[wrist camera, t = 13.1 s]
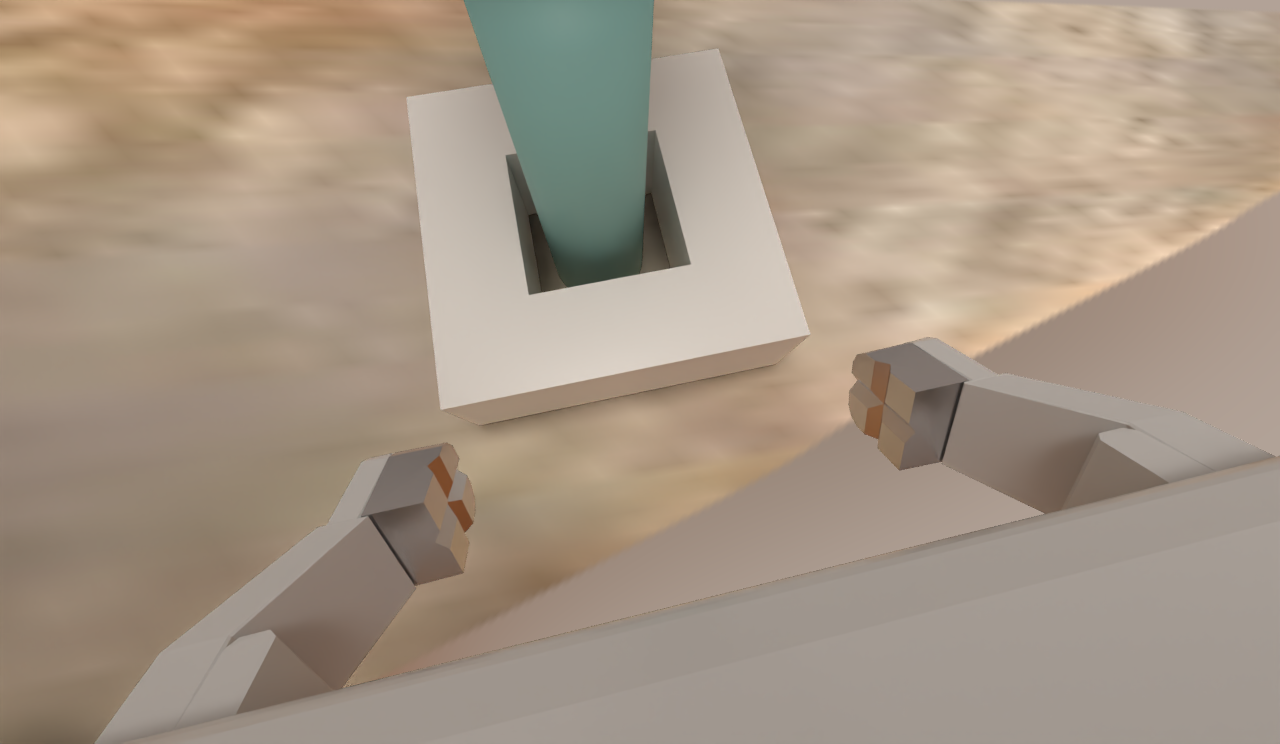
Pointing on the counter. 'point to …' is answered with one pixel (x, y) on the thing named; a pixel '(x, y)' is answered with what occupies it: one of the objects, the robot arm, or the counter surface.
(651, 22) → the peg
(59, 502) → the counter surface
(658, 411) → the counter surface
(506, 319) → the socket
